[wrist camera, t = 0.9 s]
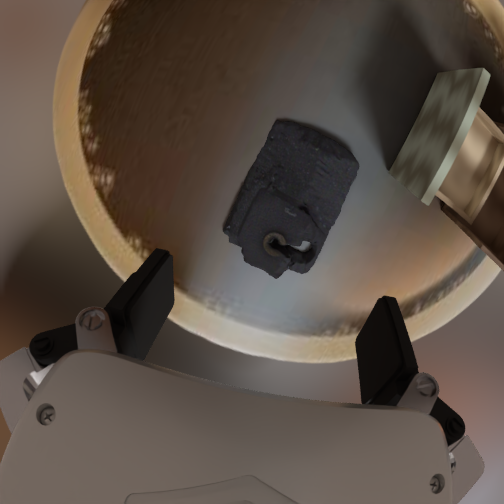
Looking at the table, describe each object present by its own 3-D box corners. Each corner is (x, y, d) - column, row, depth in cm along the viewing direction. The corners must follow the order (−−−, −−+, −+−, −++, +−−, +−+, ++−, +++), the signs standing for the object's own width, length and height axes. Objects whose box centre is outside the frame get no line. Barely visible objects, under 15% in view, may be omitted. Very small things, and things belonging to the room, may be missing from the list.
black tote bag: (373, 163, 34) (383, 170, 30) (301, 277, 45) (301, 295, 41) (275, 111, 33) (272, 111, 29) (218, 239, 44) (209, 253, 40)
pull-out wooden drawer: (437, 72, 24) (483, 67, 14) (500, 133, 25) (546, 150, 15) (388, 172, 33) (420, 200, 23) (454, 220, 34) (490, 258, 24)
